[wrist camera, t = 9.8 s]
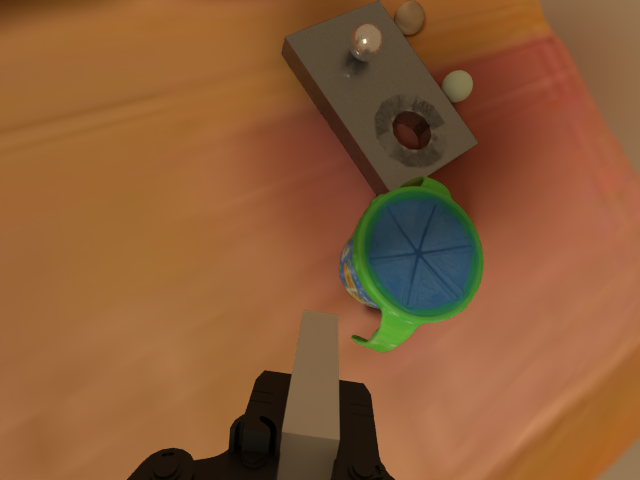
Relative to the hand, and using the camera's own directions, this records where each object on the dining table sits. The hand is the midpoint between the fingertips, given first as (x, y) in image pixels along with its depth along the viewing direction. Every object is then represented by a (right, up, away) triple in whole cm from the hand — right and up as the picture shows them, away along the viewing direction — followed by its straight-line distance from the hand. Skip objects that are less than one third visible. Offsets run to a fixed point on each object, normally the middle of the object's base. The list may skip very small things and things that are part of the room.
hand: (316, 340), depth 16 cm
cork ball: (+11, +31, +27) cm, 42 cm away
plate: (+7, +20, +25) cm, 33 cm away
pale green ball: (+16, +22, +27) cm, 38 cm away
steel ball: (+5, +25, +22) cm, 33 cm away
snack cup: (+5, +1, +21) cm, 22 cm away
